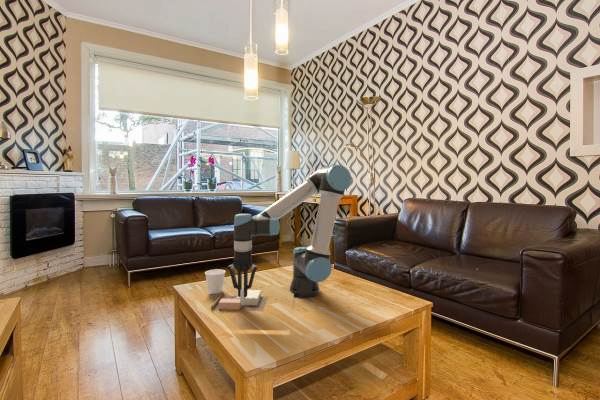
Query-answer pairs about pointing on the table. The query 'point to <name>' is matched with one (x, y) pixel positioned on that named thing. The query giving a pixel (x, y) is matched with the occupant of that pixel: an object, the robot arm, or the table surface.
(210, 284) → the cup
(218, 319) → the table surface
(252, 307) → the board
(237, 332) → the table surface
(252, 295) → the cream flat block
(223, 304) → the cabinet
